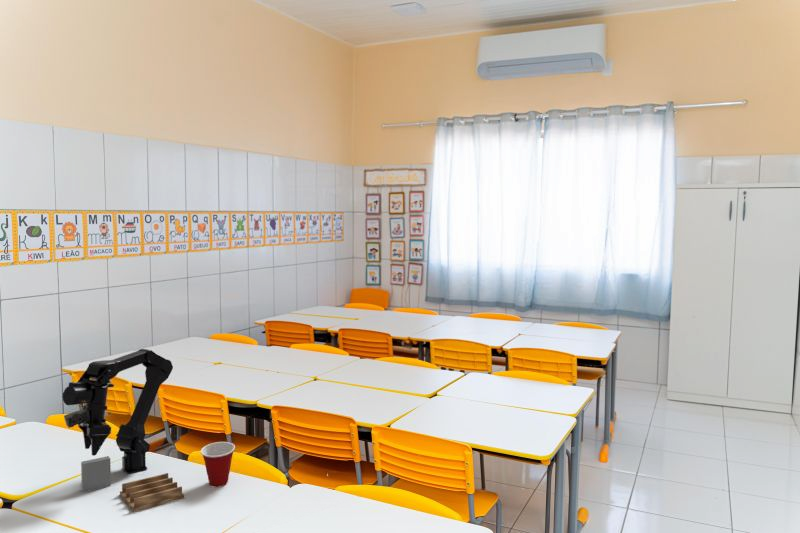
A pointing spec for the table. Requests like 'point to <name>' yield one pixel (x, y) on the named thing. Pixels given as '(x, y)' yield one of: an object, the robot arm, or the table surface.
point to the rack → (150, 492)
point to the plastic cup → (218, 462)
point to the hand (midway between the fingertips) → (90, 452)
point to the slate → (95, 473)
